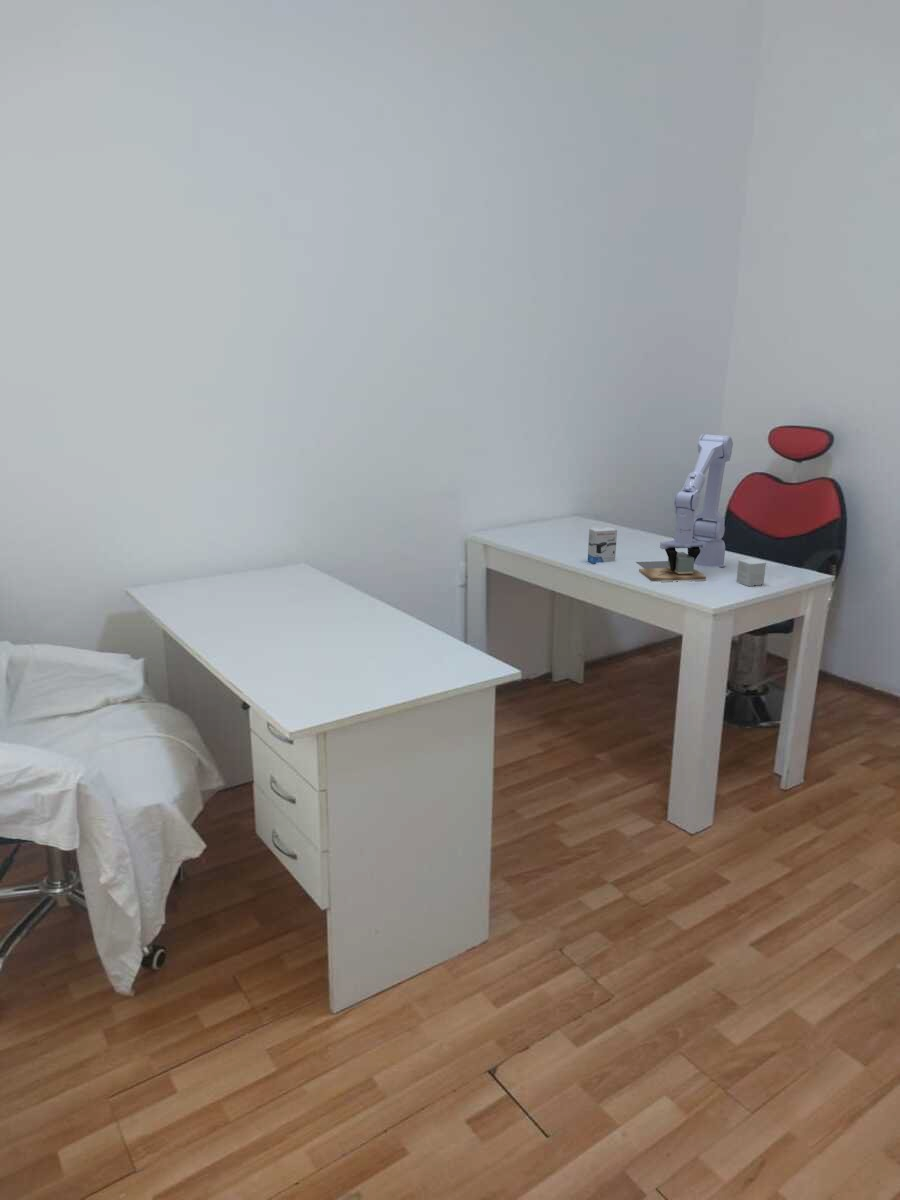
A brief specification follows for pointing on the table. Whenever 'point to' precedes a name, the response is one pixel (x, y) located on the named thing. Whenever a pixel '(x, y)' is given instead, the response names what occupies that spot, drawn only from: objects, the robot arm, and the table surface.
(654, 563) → the rubber mat
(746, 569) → the product box
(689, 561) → the block
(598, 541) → the ink box
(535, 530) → the table surface
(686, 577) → the oak board
